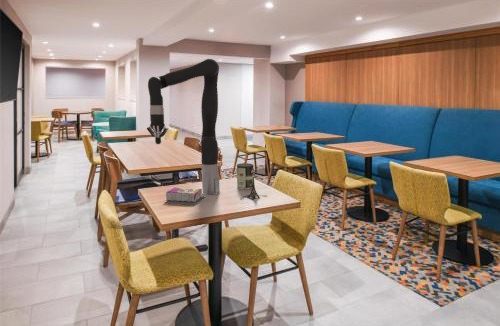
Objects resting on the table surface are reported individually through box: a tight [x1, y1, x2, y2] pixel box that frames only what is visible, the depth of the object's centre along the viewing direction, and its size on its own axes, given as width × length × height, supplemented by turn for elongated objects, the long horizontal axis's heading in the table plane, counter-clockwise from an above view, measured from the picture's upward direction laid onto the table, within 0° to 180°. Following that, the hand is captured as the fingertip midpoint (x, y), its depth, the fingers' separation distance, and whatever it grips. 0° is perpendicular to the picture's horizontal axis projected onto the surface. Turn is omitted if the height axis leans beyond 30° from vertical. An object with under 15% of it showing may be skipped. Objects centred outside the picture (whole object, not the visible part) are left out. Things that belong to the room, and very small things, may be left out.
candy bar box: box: [165, 187, 203, 202], centre depth 203 cm, size 11×5×16 cm
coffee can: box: [236, 162, 254, 190], centre depth 227 cm, size 10×10×14 cm
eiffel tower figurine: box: [239, 174, 268, 201], centre depth 205 cm, size 15×10×13 cm
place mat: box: [164, 195, 207, 207], centre depth 202 cm, size 17×16×1 cm
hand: (158, 144), depth 212 cm, fingers closed
